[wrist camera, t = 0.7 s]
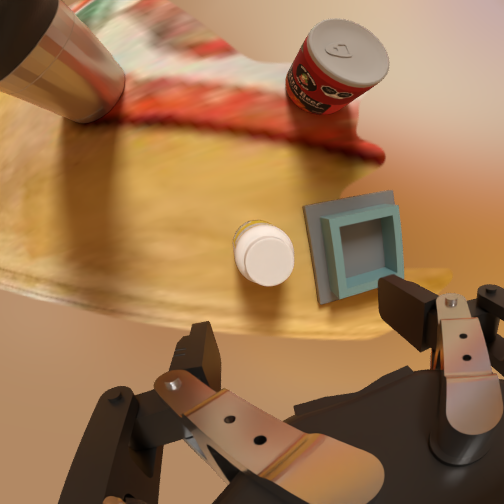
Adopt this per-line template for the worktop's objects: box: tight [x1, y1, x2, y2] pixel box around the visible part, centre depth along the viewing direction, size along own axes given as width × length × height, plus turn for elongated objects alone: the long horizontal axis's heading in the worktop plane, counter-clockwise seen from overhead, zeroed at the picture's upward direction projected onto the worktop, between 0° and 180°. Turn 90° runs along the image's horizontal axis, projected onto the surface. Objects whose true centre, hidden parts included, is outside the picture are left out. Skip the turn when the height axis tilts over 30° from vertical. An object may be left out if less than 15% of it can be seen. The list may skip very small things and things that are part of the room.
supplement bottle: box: [233, 220, 294, 286], centre depth 27 cm, size 5×5×10 cm
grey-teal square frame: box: [303, 190, 404, 305], centre depth 30 cm, size 12×12×4 cm
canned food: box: [286, 19, 389, 115], centre depth 23 cm, size 8×8×11 cm
